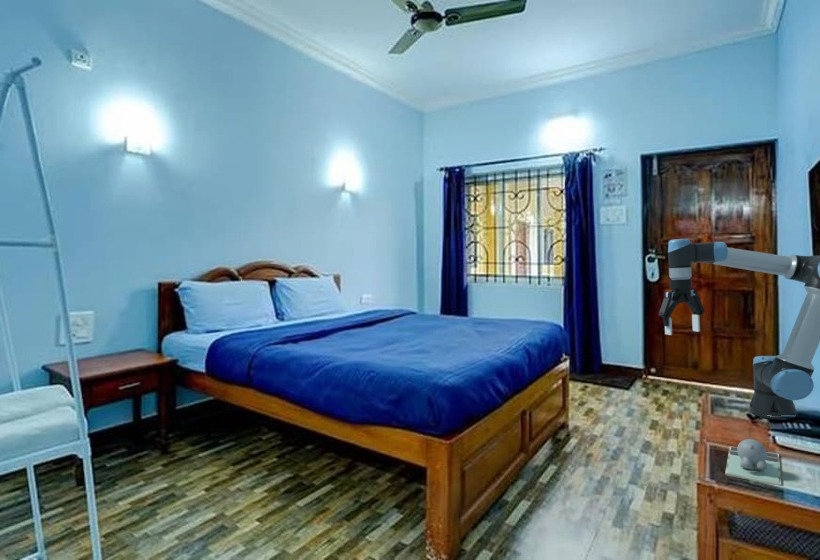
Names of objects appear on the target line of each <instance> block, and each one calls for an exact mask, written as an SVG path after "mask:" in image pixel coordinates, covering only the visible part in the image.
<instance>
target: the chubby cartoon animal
mask: <svg viewBox="0 0 820 560" xmlns="http://www.w3.org/2000/svg"><path fill="white" fill-rule="evenodd" d="M736 447H737V452H738V455H739V456H740V458H741V462H740V466H741V467H742V468H746V469H750V468H754V469H756V470H764V469H767V463H766V461H765V460H766V458H767V452H768V451H767V448H766V447H765V445H763V444H762V442H760V441H758V440H756V439H752V438H747V439H746V438H745V439H743V440H741V441H740V442H739V443H738V445H737V446H736Z"/></svg>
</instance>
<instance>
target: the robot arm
mask: <svg viewBox="0 0 820 560" xmlns="http://www.w3.org/2000/svg"><path fill="white" fill-rule="evenodd" d="M667 243H668V245H667V246H668V247H667V248H668V249H667V253H668V254H667V255H668V256H667V257H668V275H669V278H670V280H669V289H670V291H664V295H663V296H664V297H663V300H662V303H661V305H660V306H661V307H660V309H659V311H658V316H659V317H661V318H663V320H662V321H663V327H664V335H666V336H667V335H668V336H672V335H673V323H672V321H673V320H672V316H671V315H672V314H673V312H674V311H675V309H676V307H677V305H679V304H682V303H684V304H686V306H687V307H688V308H689V309H690V310H691V312H692V314H691V324H692V331H693V332H697V333H699V332H700V333H701V325H700V323H701V316H702V315H703V314H704V313H705V311H706V310H705V308H704V306H703V304H702V301H701V299H700V298H699V294H698V290H696V289H692V288H693V284H692V283H693V282H692V280H693V279H691V278H692V275H693V274H692V263H693V264H695V263H705V264H711V265H717V266H722V267H723V266H724V267H730V268H734V269H741V270H747V271H753V272H759V273H764V274H765V273H766V274H772V275H778V276H783V277H784V278H785V279H786V280H791V281H797V282H800V283H804V286H803V288H804V290H805V291H806V294H805V298H804V299H803V302H802V304H801V308H800V310H799V312H798V314H797V317H796V319H795V322H794V324H793V327H792V329H791V332H790V334H789V336H788V340H787V341H786V344H785V347H784V349H783V350H782V353H781V354H778V355H759V356H757V355H756V356H755V357H753V363H752V366H753V367H752V368H753V370H752V371H753V395H752V398H751V401H750V404H749V406H748V407H749V412H750V414H752V415H754V416H757V417H761V418H764V419H771V420H779V421H780V420H782V421H784V420H785V421H787V420H788V419H786V418H781V417H770V416H764V415H772V416H781V415H795V414H797V415H798V410H797V408H796V405H795V403H794V401H799V400H803V399H805V398H807V397H809V396H810V395H811V394H812V392H813V391H814V384H815V383H814V381H813V379H812V376H813V373H814V371H815V367H814V366H813V364H812V362H813V359H814V357H815V354H816V352H817V349H818V347H819V345H820V255H798V254H797V255H796V254H791V255H789V256H787V255H781V254H773V253H767V252H759V251H754V250H749V249H748V250H746V249H740V248H733V247H728V245H727V243H725V241H712V242H711V241H709V242H696V243H692V242H691V240H690V239H689V238H679V239H677V238H676V239H675V238H674V239H670V240H668V242H667ZM761 414H762V415H761Z"/></svg>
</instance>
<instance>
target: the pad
mask: <svg viewBox="0 0 820 560" xmlns="http://www.w3.org/2000/svg"><path fill="white" fill-rule="evenodd" d="M740 462H741V458H740V456H734V455H730V458H729V465H728V471H727V473H728V474H733V475H739V476H744V477H750V478H755V479H761V480H766V481H772V482H777V483H779V477H778V463H777V462H771V461H766V463H767V469H764V470H756V469H754V468H750V469H746V468H742V467H741V466H740Z"/></svg>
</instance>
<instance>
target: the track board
mask: <svg viewBox="0 0 820 560" xmlns="http://www.w3.org/2000/svg"><path fill="white" fill-rule="evenodd" d="M731 447H732V445H731V446H730V445H729V448H728V454H727V460H726V464H725V465H726V466H725V473H724V475H725V476H727V477H732V478H738V479H743V480H749V481H752V482H753V481H754V482H760V483H766V484H770V485H776V486H780V487H781V486H782V478H781V476H782V475H781V465H780V464H781V463H780V453H775V452H773V453H774V454H777V457H771V456H767V457H771V458H777V463H778V477H779V483H777V482H772V481H766V480H761V479H755V478H750V477H744V476H739V475H733V474H728V473H727V471H728V465H729V458H730V455H731V454H730V452H731V451H733V450H731ZM734 447H735V448H737V447H738V446H734ZM733 452H737V451H733ZM767 453H771V452H770V451H767ZM734 456H737V455H734ZM765 461H768V460H765ZM771 462H774V461H771Z"/></svg>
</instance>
